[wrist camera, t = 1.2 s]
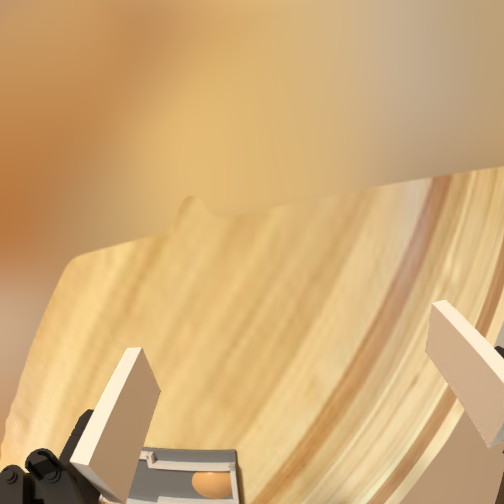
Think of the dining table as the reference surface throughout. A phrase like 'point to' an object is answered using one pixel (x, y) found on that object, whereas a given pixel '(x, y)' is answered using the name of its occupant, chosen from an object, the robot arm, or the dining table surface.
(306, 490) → the dining table surface
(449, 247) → the dining table surface
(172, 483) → the keyhole plate
